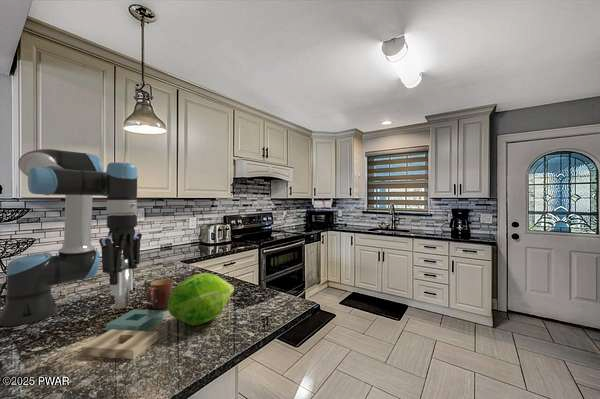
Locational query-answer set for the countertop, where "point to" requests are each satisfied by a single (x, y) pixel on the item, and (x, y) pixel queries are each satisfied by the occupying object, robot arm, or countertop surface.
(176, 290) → the lettuce
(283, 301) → the countertop surface
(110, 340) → the wooden square-hole plate
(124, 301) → the metal cylinder rod
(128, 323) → the socket
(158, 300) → the mug
